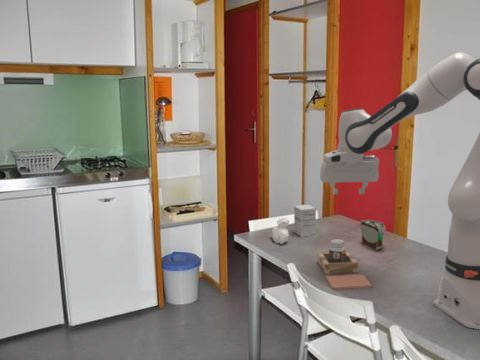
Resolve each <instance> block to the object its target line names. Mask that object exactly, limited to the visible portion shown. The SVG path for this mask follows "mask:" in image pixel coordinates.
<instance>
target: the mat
mask: <svg viewBox="0 0 480 360" xmlns="http://www.w3.org/2000/svg"><path fill="white" fill-rule="evenodd" d="M325 280H326V282H328V285H329V286H330V287H331V289H332V290H349V289H350V290H351V289H367V288H369V289H370V288H371V289H372V287H373V285H372V284H371V282H370V281H369V279H367V277H366V276H365V275H364V274H363V273H362V274H345V275H341V274H340V275H326V276H325Z"/></svg>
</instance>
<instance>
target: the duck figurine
mask: <svg viewBox="0 0 480 360" xmlns="http://www.w3.org/2000/svg"><path fill="white" fill-rule="evenodd" d="M289 223H290V220H289V219H288V218H287V217H281V218H280V217H279V218H278V220H276V224H277V225H276V226H274V227H272V230H271V233H270V234H271V239H272V241H273V242H274V243H276V244H277V243H278V244H279V243H280V244H281V245H284V243H286V242H287V241H288V240H289V237H290V234H289V233H290V232H289V230H288V229H287V227H288V225H289ZM280 244H279V245H280Z"/></svg>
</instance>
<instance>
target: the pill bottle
mask: <svg viewBox="0 0 480 360" xmlns="http://www.w3.org/2000/svg"><path fill="white" fill-rule="evenodd" d="M330 245H331V246H330V247H329V249H328V250H329V252H328V253H329V263H334V262H345V252H346V247H345V246H344V245H345V240H343V239H338V238H337V239H335V238H334V239H331V240H330Z"/></svg>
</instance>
